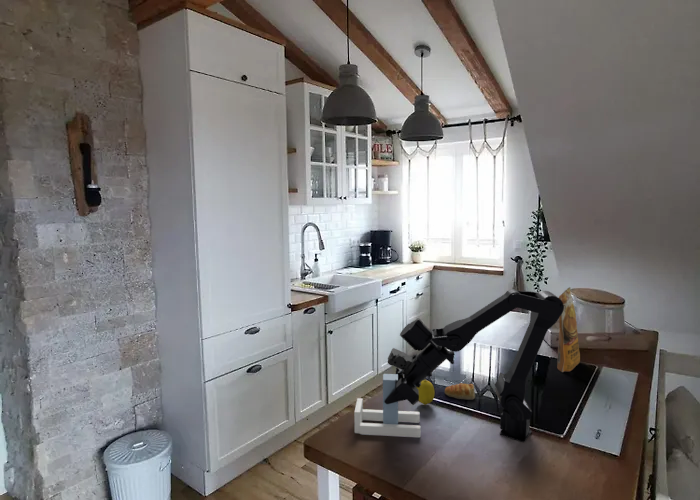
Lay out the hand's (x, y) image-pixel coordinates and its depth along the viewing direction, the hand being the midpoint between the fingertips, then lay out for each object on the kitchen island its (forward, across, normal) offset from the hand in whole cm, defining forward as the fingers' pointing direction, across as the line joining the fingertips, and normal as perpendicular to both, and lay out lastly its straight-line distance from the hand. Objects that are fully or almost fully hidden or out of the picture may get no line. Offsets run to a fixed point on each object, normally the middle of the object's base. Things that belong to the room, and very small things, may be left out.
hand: (385, 399), depth 122 cm
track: (+5, 0, +7) cm, 8 cm away
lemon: (-2, -14, +14) cm, 20 cm away
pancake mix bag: (-39, -50, +52) cm, 82 cm away
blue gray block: (+4, 0, +6) cm, 7 cm away
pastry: (-10, -22, +22) cm, 33 cm away
